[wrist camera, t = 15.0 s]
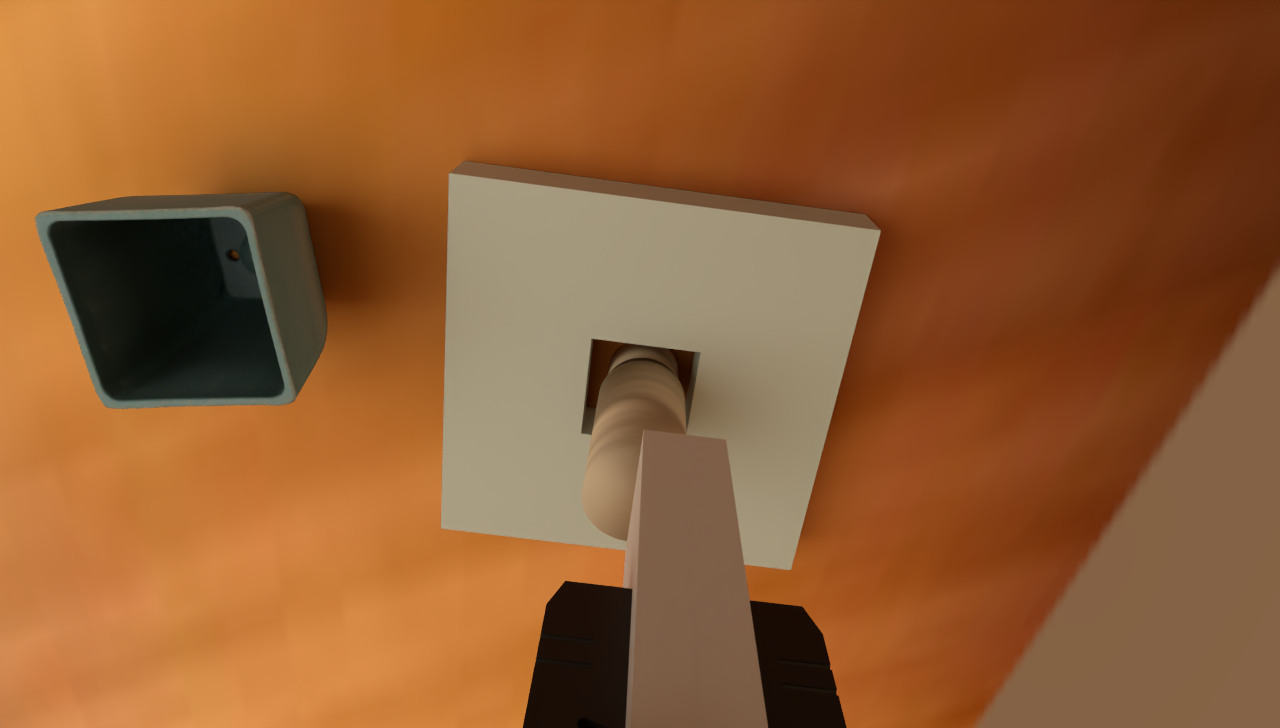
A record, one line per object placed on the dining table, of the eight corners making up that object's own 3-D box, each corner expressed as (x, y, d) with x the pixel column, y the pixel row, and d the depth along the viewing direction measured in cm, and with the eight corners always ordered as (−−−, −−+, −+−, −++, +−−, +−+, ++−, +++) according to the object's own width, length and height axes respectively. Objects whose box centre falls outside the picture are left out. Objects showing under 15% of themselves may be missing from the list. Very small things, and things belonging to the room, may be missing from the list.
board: (454, 497, 46) (441, 528, 44) (464, 160, 38) (449, 173, 35) (783, 537, 47) (790, 570, 44) (865, 214, 39) (881, 230, 36)
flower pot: (334, 162, 38) (246, 206, 30) (367, 328, 42) (297, 406, 34) (161, 167, 39) (27, 212, 30) (208, 331, 42) (100, 410, 34)
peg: (599, 401, 43) (577, 535, 33) (607, 329, 42) (586, 446, 31) (677, 410, 44) (681, 547, 33) (689, 339, 42) (696, 459, 31)
